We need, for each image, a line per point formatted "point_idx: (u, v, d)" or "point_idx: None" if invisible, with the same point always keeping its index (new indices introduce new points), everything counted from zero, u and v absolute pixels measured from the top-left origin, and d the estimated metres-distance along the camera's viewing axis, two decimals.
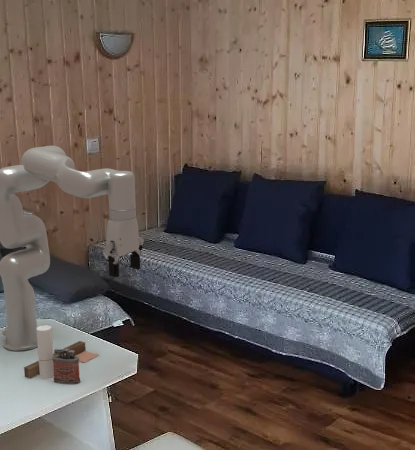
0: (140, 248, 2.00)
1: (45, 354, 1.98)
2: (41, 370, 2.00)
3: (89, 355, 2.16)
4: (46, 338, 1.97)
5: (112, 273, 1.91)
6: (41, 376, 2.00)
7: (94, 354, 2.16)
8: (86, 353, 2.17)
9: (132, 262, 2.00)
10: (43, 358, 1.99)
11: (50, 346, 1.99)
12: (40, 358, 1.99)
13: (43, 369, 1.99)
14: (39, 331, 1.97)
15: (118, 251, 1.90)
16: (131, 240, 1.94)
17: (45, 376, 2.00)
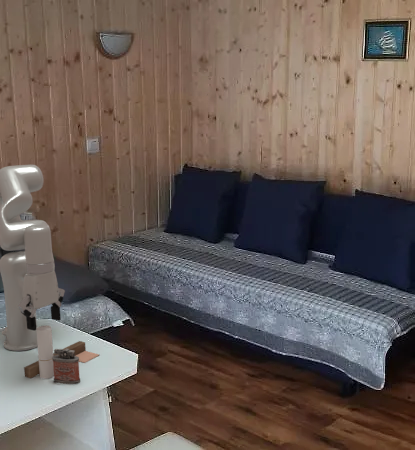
0: (60, 299, 2.02)
1: (45, 354, 1.98)
2: (41, 370, 2.00)
3: (89, 355, 2.16)
4: (45, 338, 1.97)
5: (29, 326, 1.93)
6: (41, 376, 2.00)
7: (94, 354, 2.16)
8: (86, 353, 2.17)
9: (52, 313, 2.02)
10: (43, 358, 1.99)
11: (50, 346, 1.99)
12: (40, 358, 1.99)
13: (43, 369, 1.99)
14: (39, 331, 1.97)
15: (34, 305, 1.92)
16: (49, 293, 1.95)
17: (45, 376, 2.00)
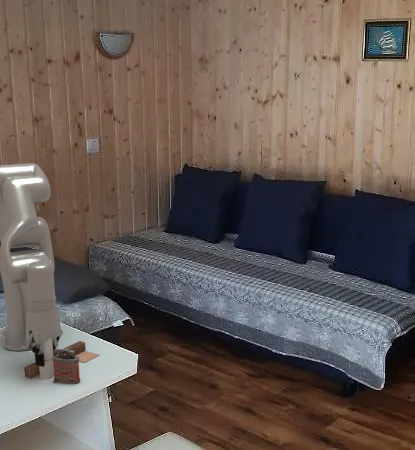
0: (57, 339, 2.03)
1: (45, 354, 1.98)
2: (41, 370, 2.00)
3: (89, 355, 2.16)
4: None
5: (37, 363, 1.98)
6: (41, 376, 2.00)
7: (94, 354, 2.16)
8: (86, 353, 2.17)
9: None
10: None
11: (50, 346, 1.99)
12: None
13: (43, 369, 1.99)
14: None
15: (36, 341, 1.94)
16: (51, 328, 1.98)
17: (45, 376, 2.00)
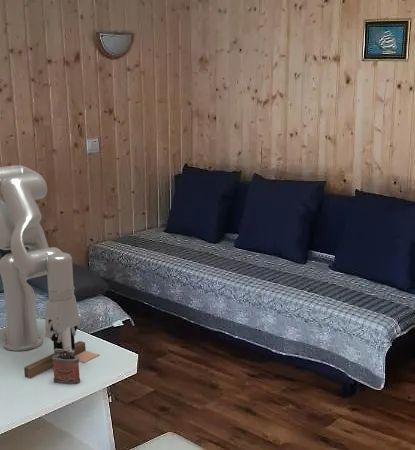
0: (75, 329, 2.10)
1: (63, 343, 2.05)
2: None
3: (89, 355, 2.16)
4: None
5: None
6: None
7: (94, 354, 2.16)
8: (86, 353, 2.17)
9: None
10: None
11: (68, 335, 2.05)
12: None
13: None
14: None
15: (55, 329, 2.01)
16: (69, 318, 2.05)
17: None
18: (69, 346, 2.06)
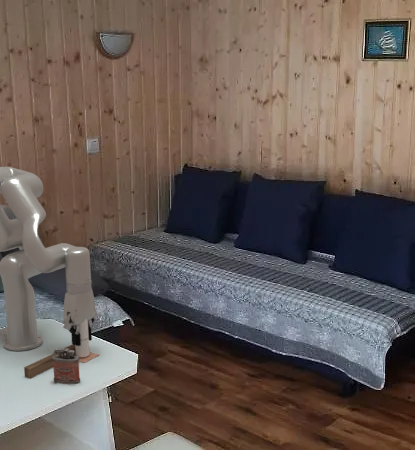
0: (92, 321, 2.16)
1: (81, 334, 2.11)
2: (77, 349, 2.13)
3: (89, 355, 2.16)
4: None
5: (74, 342, 2.11)
6: (77, 355, 2.13)
7: (94, 354, 2.16)
8: None
9: None
10: None
11: (86, 327, 2.12)
12: None
13: (79, 348, 2.12)
14: None
15: (74, 321, 2.07)
16: (87, 310, 2.11)
17: (81, 355, 2.13)
18: (87, 338, 2.13)
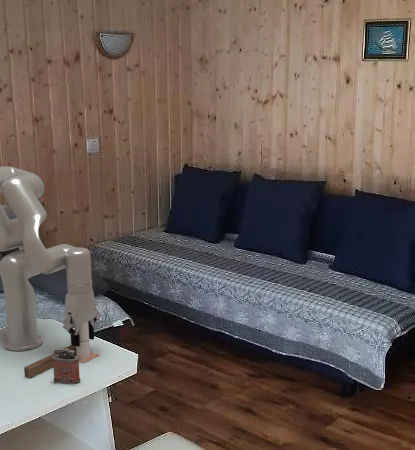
0: (94, 320, 2.17)
1: (81, 335, 2.12)
2: (78, 350, 2.13)
3: None
4: None
5: (73, 343, 2.10)
6: (78, 356, 2.14)
7: (94, 354, 2.16)
8: None
9: None
10: (80, 339, 2.12)
11: (86, 328, 2.12)
12: None
13: (80, 349, 2.13)
14: None
15: (75, 322, 2.08)
16: (88, 311, 2.11)
17: (82, 356, 2.13)
18: (87, 339, 2.13)
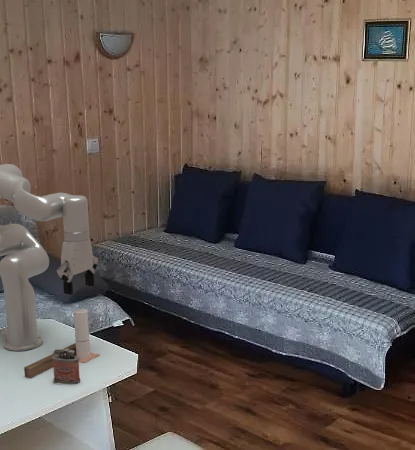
0: (94, 267, 2.14)
1: (81, 336, 2.12)
2: (78, 350, 2.13)
3: None
4: (82, 320, 2.11)
5: (66, 291, 2.05)
6: (78, 356, 2.14)
7: (94, 354, 2.16)
8: None
9: (87, 280, 2.14)
10: (80, 339, 2.12)
11: (86, 328, 2.12)
12: (77, 339, 2.12)
13: (80, 349, 2.13)
14: (76, 313, 2.10)
15: (71, 270, 2.04)
16: (84, 260, 2.08)
17: (82, 356, 2.13)
18: (87, 339, 2.13)
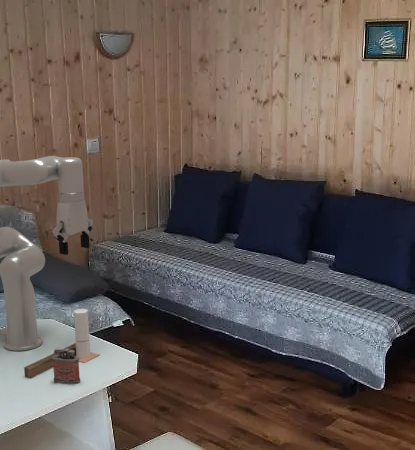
0: (89, 229, 2.18)
1: (82, 336, 2.12)
2: (78, 350, 2.13)
3: None
4: (82, 320, 2.11)
5: (62, 251, 2.09)
6: (78, 356, 2.14)
7: (94, 354, 2.16)
8: None
9: (82, 242, 2.18)
10: (80, 339, 2.12)
11: (86, 328, 2.12)
12: (77, 339, 2.12)
13: (80, 349, 2.13)
14: (76, 313, 2.10)
15: (67, 230, 2.08)
16: (80, 221, 2.11)
17: (82, 356, 2.13)
18: (87, 339, 2.13)
